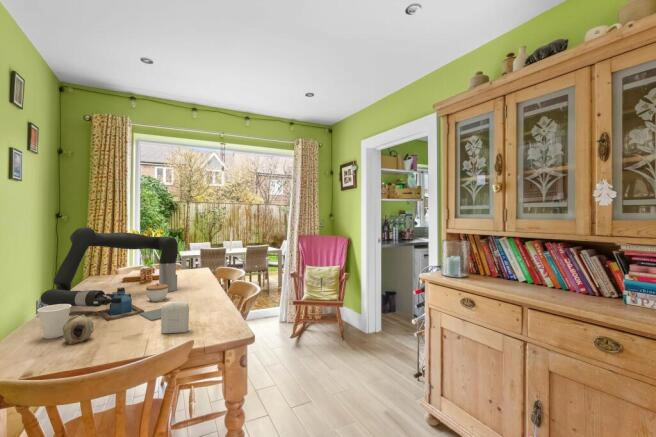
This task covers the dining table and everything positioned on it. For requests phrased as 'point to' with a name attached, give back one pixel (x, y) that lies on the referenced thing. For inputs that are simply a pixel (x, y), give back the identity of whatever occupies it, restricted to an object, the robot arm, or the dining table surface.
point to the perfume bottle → (124, 305)
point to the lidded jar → (157, 292)
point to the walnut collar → (107, 317)
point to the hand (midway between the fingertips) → (125, 298)
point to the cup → (53, 319)
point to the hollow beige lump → (77, 329)
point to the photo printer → (174, 317)
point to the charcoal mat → (152, 314)
